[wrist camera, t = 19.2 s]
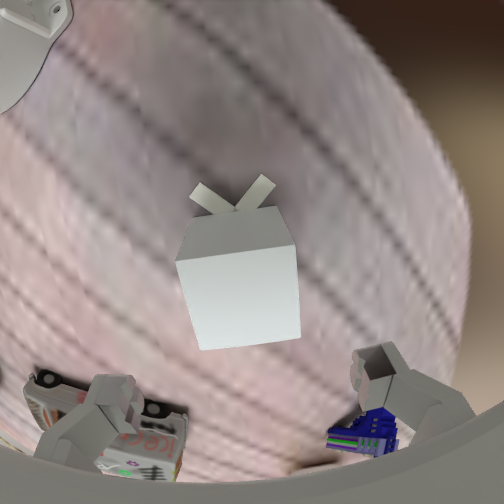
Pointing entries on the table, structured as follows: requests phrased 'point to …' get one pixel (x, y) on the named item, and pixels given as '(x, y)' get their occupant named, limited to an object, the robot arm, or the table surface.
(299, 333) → the grey block
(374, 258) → the table surface
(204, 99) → the table surface
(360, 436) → the toy gun
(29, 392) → the toy car
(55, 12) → the robot arm
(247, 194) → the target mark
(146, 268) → the table surface
